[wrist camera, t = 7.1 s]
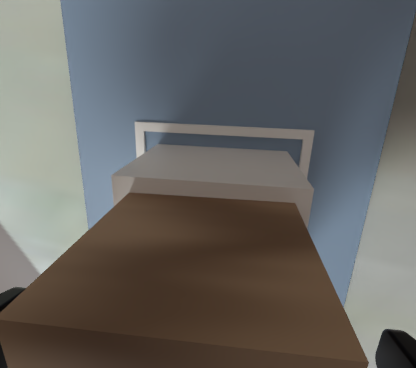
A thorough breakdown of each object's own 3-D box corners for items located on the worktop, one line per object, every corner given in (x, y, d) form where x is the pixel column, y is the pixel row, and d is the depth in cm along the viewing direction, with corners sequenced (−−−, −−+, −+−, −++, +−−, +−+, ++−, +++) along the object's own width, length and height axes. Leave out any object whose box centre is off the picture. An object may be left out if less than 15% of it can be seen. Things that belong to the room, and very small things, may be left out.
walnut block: (295, 202, 8) (367, 362, 3) (277, 334, 10) (310, 565, 5) (128, 192, 9) (-7, 318, 4) (139, 319, 10) (51, 516, 6)
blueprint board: (404, 4, 11) (422, -6, 10) (326, 343, 17) (332, 361, 16) (73, 2, 12) (56, -6, 11) (108, 316, 18) (99, 331, 17)
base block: (287, 151, 13) (314, 189, 8) (272, 263, 15) (287, 347, 10) (157, 144, 13) (111, 175, 8) (160, 253, 15) (124, 327, 10)
